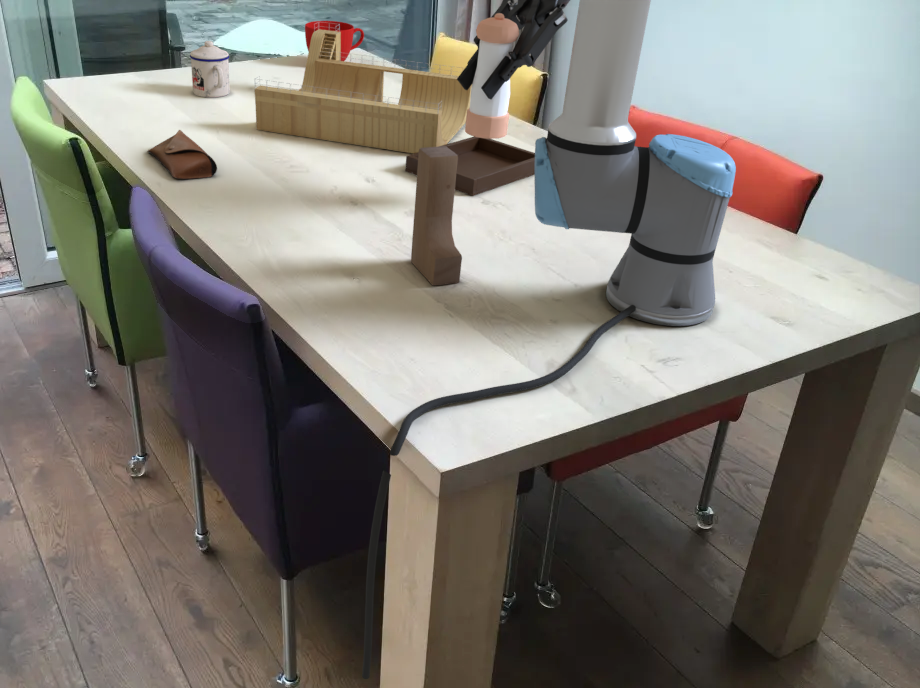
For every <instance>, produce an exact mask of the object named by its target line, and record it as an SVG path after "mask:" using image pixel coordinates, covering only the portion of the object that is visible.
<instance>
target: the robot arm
mask: <svg viewBox="0 0 920 688" xmlns="http://www.w3.org/2000/svg"><path fill="white" fill-rule="evenodd" d="M570 2H571V0H502V2H501V3H500V5H499V7H498V8H497V9H496V10H495V12H494V13H493V14H492V15H491V17H490V18H492V17H494V16H495V14H497V13H502V14H503V15H504V18H506V19H509V20H511V21H513V22H514V23H516V24H517V26H518V28H519V31H520V30H521V32H520V34H519V36H518V38H517V40H516V43H515V45H514V46H513V48H512V52H509V55H510V57H511V59H510V58H509V57H508V56H505V57H504V58H503V60H502V61H501V62H500V63H499V65H498V66H497V67H496V69H495V70H494V71H493V73H492V74H491V75H490V77H489V78H488V79H487V81H486V82H485V83H484V84H483V86H482V87H481V89H482V90H483V92H484V93H485V94H486V96H487V97H488V99H492V98H493V97H494V96H495V94H496V93H497V92H498V90H499V89H500V88H501V86H502V85H503V84H504V82H507V81H508V80H509V79H510V80H511V78H512V77H513V75H514V74H515V73H516V71H517V70H518V69H520V68H521V67H523V66H526V67H527V68H530V67H532V66H533V65H534V64H535V62H536V61H537V60H538V59H539V57H540V55H541V54H542V53H543V51H544V50H545V48H546V47H547V46H548V45H549V43H550V42H551V40H552V39H553V37H554V36H555V34H556V33H557V32H558V31H559V30H560V29H561V28H562V27H563V26H564V25H566V24H567V22H568V21H569V20H568V17H567V16H566V14H565V11H564V9H565V8H566V7H567V5H568V4H569V3H570ZM651 2H652V0H579V3H578V10H577V16H576V23H575V30H574V34H573V35H574V36H573V42H572V47H571V55H570V61H569V66H568V67H569V68H568V73H567V80H566V87H565V92H564V99H563V106H562V111H561V114H560V115H559V116H558V117H556V118H555V119H554V120H552V121H551V122H549V124H548V128H547V136H541V137H539V138H537V139H535V143H534V144H535V145H534V146H535V147H534V153H535V175H534V214H535V217H536V219H537V220H538V222H540V224H543V225H545V226H551V227H559V228H564V229H565V230H570V229H573V230H576V229H577V230H583V231H584V230H586V231H597V232H606V233H607V232H609V233H620V234H631V235H630V239H629V243H628V247H626V249H625V251H624V253H623V255H622V256H621V259H620V260H619V262H618V263H617V265H616V266H615V269H613V272H612V274H611V275H610V277H609V280H608V281H607V287H606V291H605V298H606V299H607V301H608V302H609V304H610V305H611V306H612V307H613V308H615V309H616V310H617V311H619V313H617V314H616V315H614V316H613V317H612V318H610V319H609V320H607V321H605V322H604V323H603V324H602V325H600V326H599V327H598V328H597V329H595V331H594V332H593V333H592V334H591V335H590V337H589V338H588V340H587V341H586V342H585V344H584V346H582V348H581V349H580V350H579V351H578V352H577V353H576V354H575V355H574V356H572V357H571V358H570V359H569V360H568V361H567V362H565V363H564V364H563V365H562V366H560V367H559V368H558V369H556V370H554V371H552V372H550V373H548V374H545V375H543V376H541V377H538V378H535V379H532V380H527V381H521V382H516V383H510V384H504V385H498V386H491V387H487V388H482V389H478V390H473V391H468V392H462V393H456V394H450V395H446V396H441V397H438V398H437V397H436V398H433V399H431V400H428V401H427V402H424V403H422V404H421V405H419V406H417V407H416V408H414V409H412V410H411V411H410V412H409V413H408V414H406V416H405V418H404V419H403V420H402V423H401V425H400V427H399V429H398V432H397V434H396V437H395V439H394V441H393V443H392V446H391V448H390V450H389V455H390V456H392V457H396V456H398V455H399V454H400V452H401V450H402V447H403V446H404V443H405V441H406V438H407V436H408V433H409V431H410V429H411V427H412V424H413V422H414V421H415V420H416V419H418V418H419V417H421V416H422V415H424V414H426V413H427V412H429V411H431V410H434V409H436V408H440V407H442V406H443V407H444V406H446V405H450V404H456V403H462V402H468V401H473V400H478V399H483V398H487V397H488V398H489V397H492V396H498V395H503V394H509V393H516V392H521V391H526V390H531V389H535V388H539V387H542V386H544V385H547V384H549V383H552V382H554V381H556V380H558V379H559V378H562V377H563V376H564V375H566V374H567V373H569V371H571V370H572V369H573V368H574V367H575V366H576V365H578V364H579V363H580V362H581V361H582V360H583V359H584V358H585V357H586V356H587V355H588V354H589V352H590V351H591V350H592V349H593V347H594V345H595V344H596V343H597V341H598V340H599V339H600V338H601V337H602V336H603V335H604V334H605V333H606V332H607V331H609V330H610V329H611V328H613V327H615V326H616V325H618V324H619V323H620V322H621V321H623V320H625V319H626V318H627V317H630V318H633V319H636V320H638V321H642V322H644V323H645V322H646V323H649V324H654V325H658V326H668V327H687V326H692V325H697V324H700V323H701V324H702V323H703V322H705V321H707V320H708V319H709V318H711V316H712V315H713V311H714V308H715V305H716V289H715V275H714V257H715V253H716V249H717V247H718V242H719V239H720V234H721V231H722V228H723V225H724V221H725V217H726V213H727V210H728V206H729V202H730V199H731V198H732V196H733V188H734V184H735V177H736V172H737V167H736V163H735V161H734V159H733V157H732V156H731V155H730V154H729V153H727V152H726V151H725V150H723V149H721V148H720V147H718V146H717V145H716V146H715V145H714V144H711V143H709V142H706V141H703V140H700V139H697V138H693V137H690V136H686V135H680V134H672V133H666V134H663V133H662V134H656V135H654V136H653V137H652V138H651V140H650V141H649V142H648V143H649V144H648V146H637V145H636V142H637V132H636V131H635V130H634V128H633V127H632V126H631V124H630V122H629V115H630V110H631V105H632V100H633V95H634V90H635V84H636V79H637V74H638V68H639V63H640V57H641V54H642V48H643V43H644V38H645V33H646V26H647V21H648V16H649V11H650V6H651ZM473 42H474V44H475V45H476V47H477V48H476V50H475V51H474V53H473V54H472V56H471V57H470V58H469V60H468V61H467V65H466V66H465V67H464V68H463V71H461V72H460V74H459V75H458V76H459V77H458V78H457V80H458V81H459V83H460V84H461V85H462V87H463V88H464V89H465V90H468V89H469V87H470V86H471V85H472V84H473V80H474V76H475V72H476V68H477V62H478V54H479V45H480V39H479V38H478V37H477V35H476V36H475V37H474V38H473ZM510 53H511V54H510ZM391 477H392V474H391V473H389V472H388V471H386V470H384V469H383V470H382V474H381V478H380V482H379V486H378V491H377V496H376V501H375V504H374V505H375V506H374V510H373V517H372V522H371V529H370V537H369V538H370V539H369V545H368V554H367V566H366V580H365V581H366V582H365V604H364V605H365V608H364V640H363V641H364V642H363V657H362V658H363V660H362V674H361V678H363V679H364V680H368V679H370V675H371V665H372V664H371V662H372V646H373V624H374V623H373V622H374V595H375V579H376V578H375V577H376V567H377V566H376V564H377V556H378V547H379V538H380V533H381V532H380V531H381V526H382V521H383V514H384V508H385V503H386V499H387V493H388V489H389V485H390V481H391Z"/></svg>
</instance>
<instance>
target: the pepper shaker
mask: <svg viewBox="0 0 920 688" xmlns="http://www.w3.org/2000/svg"><path fill="white" fill-rule="evenodd" d="M491 17H492V16H491ZM491 17H487V18H484V19H482V20H480V22H478V24H477V26H476V29H475V32H476V33H475V34H476V36H477V37H478V38H479V39H480V45H479V54H478V62H477V68H476V72H475V76H474V80H473V84H472V88H471V98H470V108H469V109H468V110H467V116H466V123H465V126H464V132H465V133H466V134H467V135H469V136H470V137H479V138H487V139H493V140H495V139H496V140H497V139H503V138H504V137H505V138H506V137H507V135H508V128H509V123H510V122H509V121H510V112H509V111H508V110H509V105H510V99H511V78H510V79H509V80H508V81H507V82H504V84H503V85H502V86H501V88H500V89H499V90H498V92H497V93H496V94H495V96H494V97H493V98H492V99H488V97H487V96H486V94H485V93H484V92H483V90H482V89H481V87H482V86H483V84H484V83H485V82H486V81H487V79H488V78H489V77H490V75H491V74H492V73H493V71H494V70H495V69H496V67H497V66H498V65H499V63H500V62H501V61H502V60H503V58H504V57H505V56H508V57H509V58H510V59H511V57H510V55H509V52H512V51H513V49H514V43H515V42H517V41H518V39H519V37H520V30H519V28H518V26H517V24H516V23H514V22H513V21H511V20H509V19H506V18H504V15H503V14H502V13H497V14H495V16H494V17H492V18H491ZM510 54H511V53H510Z"/></svg>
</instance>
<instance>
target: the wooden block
mask: <svg viewBox="0 0 920 688" xmlns="http://www.w3.org/2000/svg"><path fill="white" fill-rule="evenodd" d="M457 162H458V156H457V154H455V153H454V152H453V151H452V150H450V149H449V148H448V147H446V146H441V147H427V148H420V149H419V155H418V169H417V175H416V184H415V185H416V186H415V199H414V213H413V225H412V226H413V227H412V238H411V252H410V253H411V255H410V263H412V265H413V266H414V267H415V268H416V269H417V270H418V271H419V272H420V273H421V275H422V276H423V277H424V278H425V279H426V280H427V281H428V282H429V283H430V284H431V286H434V287H435V286H443V285H450V284H458V283H460V281H461V280H460V279H461V271H462V262H463V256H462V254H461V252H460V251H459V249H458V248H457V247H456V244H455V241H454V236H453V213H454V202H455V193H456V190H455V182H456V172H457Z"/></svg>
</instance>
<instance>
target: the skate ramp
mask: <svg viewBox="0 0 920 688" xmlns="http://www.w3.org/2000/svg"><path fill="white" fill-rule="evenodd" d="M317 23H318V30H317V31H315V24H316V23H315V24H314V33H313V35H312V38H311V43H310V48H309V52H308V53H307V58H306V64H305V70H304V74H303V78H302V79H303V80H302V84H301V87H300V88H299V89H297V88H295V89H291V87H288V88H285V87H282V86H281V87H278V85H277V86H276V85H275V86H270V85H269V84H267V85H263V84H262V83H259V85H258V86H257V82H256V81H257V80H259V81H262V79H261V78H259V76H257V77H256V78H254V79H253V80H254V102H255V103H254V104H255V125H256V128H255V129H256V130H257V131H265V132H270V133H277V134H284V135H291V136H298V137H304V138H310V139H316V140H322V141H331V142H335V143H343V144H350V145H355V146H356V145H357V146H361V147H362V146H363V147H369V148H374V149H375V148H376V149H381V150H389V151H395V152H401V153H408V154H414V153H418V152H419V149H420V148H427V147H439V146H442V145H446V144H449V143H450V141H451V140H452V139H453V138H454V137H455V135H456V134H457V133H458V132H459V131H460V130H461V129H462V128H463V127H464V125H466V116H467V110H468V109H469V108H470V98H471V88H472V85H471V86H470V87H469V89H468V90H465V89H464V88H463V87H462V85H461V84H460V83H459V81H458V80H457V78H458V77H459V75H454V74H452V72H456V73H457V71H453V70H450V73H449V74H447V73H441V71H442V69H441V68H442V67H441V66H444V67H446V65H444V64H439V68H438V70H439V71H438V72H432V71H422V70H418V68H419V65H418V64H419V63H420V64H422V62H420V61H418V63H416V66H414V67H415V69H416V70H415V69H409V68H408V69H407V67H410V65H409V64H408V63H407V62H408V60H405V59H402V61H404V62H405V65H404V66H405V67H404V68H401V67H396V61H398V59H394V63H393V62H390V64H393V65H394V66H393V67H392V66H385V63H386V64H387V62H386V61H385V59H388V60H390V58H388V57H387V58H386V57H383V61H382V65H376V64H374V56H373V55H372V56H371V55H370V57H371V59H372V60H369V59H367V61H368V62H371V64H369V63H363V62H354V61H352V59H353V60H355V58H354V57H352V53H347V54H349V55H350V57H349V60H350V61H346V60H345V61H341V53H342V52H341V32H340V24H339V28H337V29H338V30H339V32H337V30H336V31H330V28H331V27H330V23H329V30H321V29H319V22H317ZM324 23H326V22H324ZM332 24H334V23H332ZM337 26H338V25H337ZM321 27H323V26H321ZM316 28H317V27H316ZM354 55H356V56H358V53H354ZM363 56H366V55H363V54H360V58H361V59H360V58H359V60H361V61H362V59H363ZM344 58H346V57H344ZM378 58H380V59H382V57H381V56H380V57H378ZM346 59H347V58H346ZM410 62H411V63H414V61H412V60H410ZM375 63H379V61H377V60H376V61H375ZM407 64H408V65H407ZM426 64H427V65H430V63H427V62H426ZM398 65H401V66H402V64H400V63H399V64H398ZM434 65H436V66H438V64H437V63H434ZM449 67H450V68H454V66H451V65H449ZM422 68H424V69H426V67H423V66H422ZM457 68H460V69H462V71H463V70H464V68H462V66H461V67H459V66H457ZM430 69H431V70H432V69H433V70H434V68H433V67H432V68H431V67H430ZM445 71H447V72H449V70H448V69H445ZM462 71H461V72H462ZM385 73H393V74H400V75H402V79H401V90H400V94H399V95H400V96H399V97H396V99H397V100H398V102H396V103H393V102H391V101H389V100H387V101H384V98H385V95H384V81H385V80H384V79H385ZM258 78H259V79H258ZM266 82H269V80H267V79H266ZM272 82H274V83H276V80H275V81H274V80H272ZM280 83H281V84H283V81H279V84H280ZM287 84H289V85H291V83H289V82H287ZM294 85H295V86H298V84H295V83H294ZM389 99H393V97H390V96H389Z"/></svg>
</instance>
